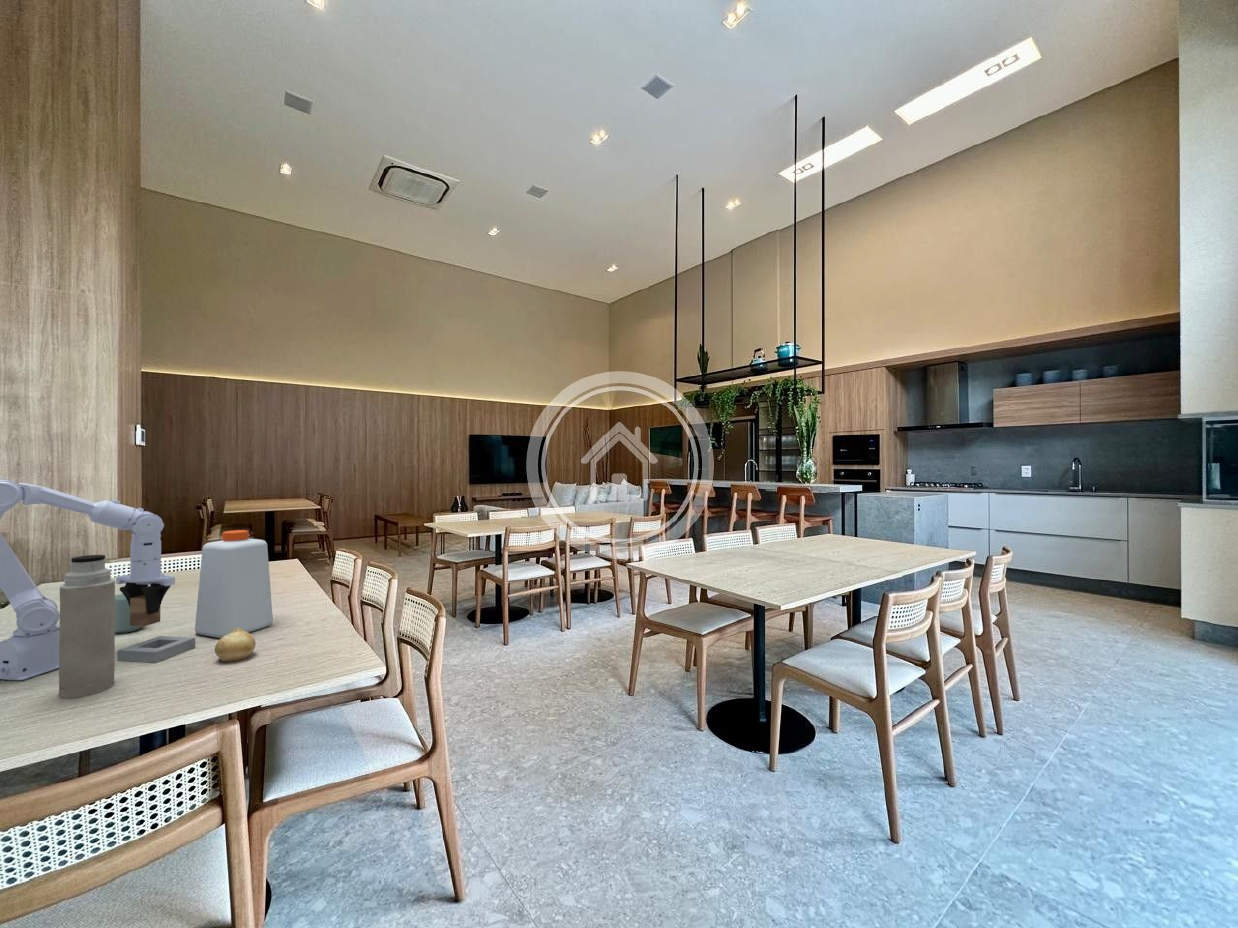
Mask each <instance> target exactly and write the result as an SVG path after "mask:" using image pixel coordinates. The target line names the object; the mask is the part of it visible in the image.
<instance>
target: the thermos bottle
mask: <svg viewBox="0 0 1238 928" xmlns="http://www.w3.org/2000/svg"><path fill="white" fill-rule="evenodd" d="M105 560H106V555H104V554H89V555H87V554H86V555H80V556H75V557H72V558H71V565H70V568H71V569H70V571H68V572H67V573H65V575H64V578H63V581H64V584H61V585H59V614H60V617H59V620H58V622H59V623H58V624H59V668H58V696H59V697H60V698H63V699H64V698H65V699H73V698H81V697H85V696H89V695H93V694H96V693H100V692H103V691H105V690H107V689H110V688H112V687H113V686H114V685H115V652H116V651H115V642H116V641H115V640H116V639H115V638H116V637H115V633H116V632H115V595H116V579H113V578H111V575H112V572H111V569H109V568H106V563H105Z"/></svg>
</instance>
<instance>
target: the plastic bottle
mask: <svg viewBox="0 0 1238 928" xmlns="http://www.w3.org/2000/svg"><path fill="white" fill-rule="evenodd" d="M221 536H222V537H221V538H222V539H221V540H217V541H210V542H207V543H205V544H204V545H203V546H202V550H201V551H202V552H201V559H200V560H201V561H200V571H199V580H198V581H199V582H198V591H197V592H198V593H197V600H196V601H197V602H196V612H195V622H194V623H195V624H194V632H195V633H196V634H197V635H201V636H206V637H211V638H212V637H213V638H217V639H221V638H222V637H224V636H225V635H227V634H230V633H232V632H233V630H234V629H236V628H240V629H242V631H245V632H248V633H250V632H251V633H252V632H254V631H257V630H260V629H265V628H266V627H269V626H270V625H271V624H272V623H273V620H274V618H273V617H274V615H273V605H272V604H273V603H272V590H271V578H270V577H271V576H270V566H269V564H270V562H269V553H268V543H267V542H266V540H264V539H258V538H250V532H249V531H248V530H246V529H236V530H227V531H223V532H222V534H221ZM230 628H231V629H233V630H231V629H230Z"/></svg>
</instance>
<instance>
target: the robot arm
mask: <svg viewBox="0 0 1238 928" xmlns="http://www.w3.org/2000/svg"><path fill="white" fill-rule="evenodd" d="M20 501H22V503H23V506H28V505H29V506H30V505H38V504H39V505H40V504H44V505H46V506H47V505H48V506H53V507H56V508H60V509H64V510H68V511H71V512H76V513H81V514H85V515H87V516H88V518H89V519H90V522H92V523H95V524H98V525H102V526H106V527H110V528H113V529H116V530H117V529H118V530H121V531H127V530H129V531H130V532H132V533H131V542H130V548H129V549H130V555H129V556H130V561H129V562H130V563H129V566H130V567H129V569H130V570H129V574H123V575H117V576H116V579H115V585H122V584H125V585H124V586H120V587H119V591H120V592H121V594H124V596H125V597H126V599H127V601H128V604H129V606H130V598H133V597H137V596H141V595H145V598H146V603H147V612H148V614H153V613H157V612H158V611H159V608H160V605H162V602H163V600H164V597H165V595H166V593H167V592H168V590H169V589H170V588H171V586H173V585H175V584H176V577H175V576H170V575H165V573H162V568H161V567H162V540H161V537H162V534H161V532H162V531H163V529H164V528H165V523H164V521H163V520H162V518H161V517H160V516H159V515H158V514H154V513H152V512H150V511H148V510H147V511H146V510H145V511H144V508H141V507H138V508H135V507H131V506H128V505H124V504H121V501H119V500H117V499H113V500H108V499H103V500H101V501H98V502H94V501H90V500H87V499H84V498H81V497H79V496H75V495H72V494H69V493H68V494H67V493H65V492H61V491H59V490H55V489H51V488H49V487H45V486H41V485H37V484H31V483H25V482H19V483H17V482H16V481H13V480H10V479H6V478H0V520H1V519H2V518H3V517H4V515H5V513H6V512H8V511H9V510H11V509H12V508H13V507H15V506H16V505H17V504H19V503H20ZM0 589H1V591H2V592H3V594H4V596H6V598H7V599H8V602H9V603H10V606H11V607H12V609H13V611H14V612H15V618H16V621H15V623H16V627H17V628H16V629H15V630H13V631H12V636H10V637H9V638H6V639H3V640H2V641H0V680H6V681H7V680H8V681H9V680H10V681H24V680H27V679H30V678H33V677H36V676H40V675H42V674H45V673H48V672H51V671H54V670H57V669H59V623H58V622H59V620H60V610H58V605H57V603H56V602H55V601H53V600H52V599H50V598H47V597H46V596H45V595H44V594H43V593H42V591H41V590H40V589H39V588H38V586H37V585H36V584H35V582H34V581H33V579H32V578H31V576H30V575H29V574H28V572H27V570H26V569H25V567H24V565H23V564H22V563H21V561H20V560H19V558H18V557H17V555H16V553H15V552H14V551H13V549H12V547H10V545H9V544H8V542H7V540H6V538H5V537H4V535H3V534H2V532H0ZM160 609H161V608H160Z"/></svg>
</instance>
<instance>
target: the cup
mask: <svg viewBox="0 0 1238 928" xmlns="http://www.w3.org/2000/svg"><path fill="white" fill-rule="evenodd" d="M143 627H144V626H130V606H129V604H128V601H127V599H126V597H125V596H124V594H123V593H119V594H115V633H117V634H126V633H132V632H136V631H138V630H140V629H142V628H143Z"/></svg>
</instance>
